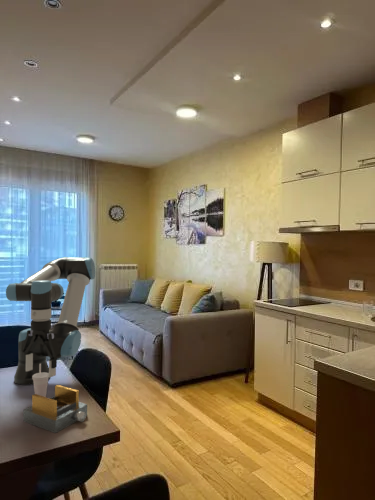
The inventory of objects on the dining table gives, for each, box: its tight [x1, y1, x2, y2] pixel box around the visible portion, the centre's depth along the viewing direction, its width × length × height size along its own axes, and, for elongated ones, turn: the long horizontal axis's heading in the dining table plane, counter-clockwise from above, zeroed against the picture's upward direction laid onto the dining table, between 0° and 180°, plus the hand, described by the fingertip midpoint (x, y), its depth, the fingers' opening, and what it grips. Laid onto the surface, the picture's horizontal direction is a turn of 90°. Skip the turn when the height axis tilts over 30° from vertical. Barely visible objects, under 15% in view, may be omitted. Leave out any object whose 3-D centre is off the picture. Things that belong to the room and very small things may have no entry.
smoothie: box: [32, 364, 50, 397], centre depth 140 cm, size 6×6×14 cm
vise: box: [22, 384, 88, 434], centre depth 124 cm, size 19×14×9 cm
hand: (40, 373), depth 140 cm, fingers open, 13 cm apart
